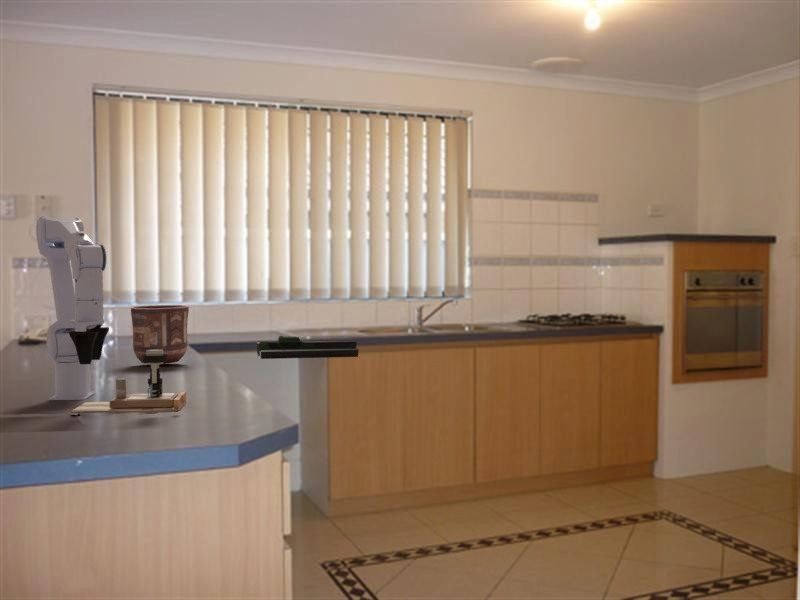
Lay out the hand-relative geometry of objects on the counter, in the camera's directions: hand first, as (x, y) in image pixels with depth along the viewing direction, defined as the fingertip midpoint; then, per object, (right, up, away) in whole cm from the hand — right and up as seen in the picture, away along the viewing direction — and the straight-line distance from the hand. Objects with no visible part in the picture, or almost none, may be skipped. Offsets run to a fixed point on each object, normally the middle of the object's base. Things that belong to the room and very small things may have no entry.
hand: (90, 361), depth 173 cm
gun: (+37, -7, +96) cm, 103 cm away
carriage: (+12, -9, -1) cm, 15 cm away
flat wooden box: (+9, -11, -1) cm, 14 cm away
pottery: (-10, -7, +83) cm, 84 cm away
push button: (+14, -8, -1) cm, 16 cm away
